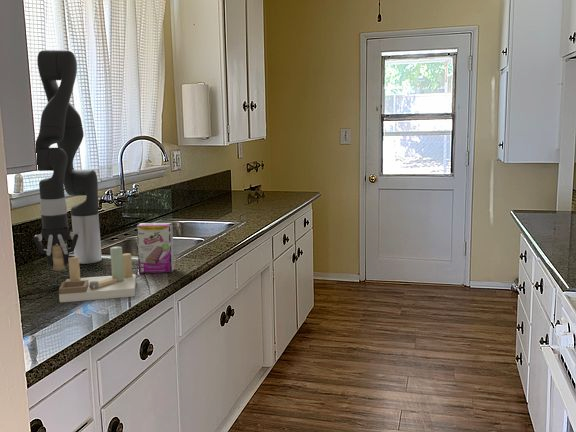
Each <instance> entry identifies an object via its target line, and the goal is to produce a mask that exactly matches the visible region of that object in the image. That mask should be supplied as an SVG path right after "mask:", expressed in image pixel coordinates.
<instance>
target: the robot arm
mask: <svg viewBox="0 0 576 432" xmlns="http://www.w3.org/2000/svg"><path fill="white" fill-rule="evenodd" d="M36 59H37V60H36V63H37V64H36V65H37V70H38V74H39V77H40V80H41V84H42V87H43V89H44V93H45V96H46V99H47V103H46V105H45V106H44V108H43V110H42V113H41V115H40V123H39V131H38V135H37V137H36V141H35V142H36V153H37V165H38V170H36V171H38V172H46V171H47V172H53V173H52V176H51V177H47V178H43V179H41V180H40V181H39V184H38V188H39V198H40V200H39V201H40V203H39V207H40V208H39V209H40V215H41V226H42V227H41V228H42V230H41V232H40V233H39V234H35V235H34V236H33V237H32V241H34V243H35V245H36V247H37V249H38V251H39V253H40V254H41V255H46V256H47V264H48V266H50V267H52V268H53V260H52V250H51V249H52V245H55V244H61V247H62V249H63V252H64V265H65V267H66V266H69V261H68V258H70V253H73V252H74V253H73V254H74V257H79V265H80V264H81V265H83V264H84V265H85V264H95V263H99V262H101V261H102V259H103V257H102V245H101V244H102V243H101V231H100V218H99V217H100V216H99V195H98V194H99V193H98V189H99V188H98V185H99V184H98V183H99V182H98V177H97V172H96V171H95V170H94V169H75V168H74V160H75V156H76V154H77V151H78V149H79V148H80V146H81V144H82V141H83V140H84V139H83V138H84V136H85V135H84V128H83V123H82V122H83V121H82V118H81V116H80V114H79V112H78V111H77V109H76V108H75V107H74V106H73V104H71V102H70V101H71V97H72V93H73V90H74V85H75V82H76V78H77V75H78V74H77V73H78V62H77V58H76V56H75V53H73V51H71V50H61V49H60V50H57V49H56V50H53V49H51V50H49V49H48V50H46V49H45V50H40V51H39V52H38V53H37V58H36ZM57 81H60V84H58V82H57ZM54 144H57V145H56V146H57V147H51V146H52V145H54ZM65 192H66V195H68V196H71V197H73V196H75V197H76V196H79V197H81V196H86V197H85V198H86V199H85V200H84V201H82V202H81V203H79V204H76V205H73V206H72V207H70V208H71V209H70V215H71V216H70V217H71V225H72V226H71V227H72V231H71V230H70V227H69V221H68V220H69V219H68V210H67V201H66V195H65ZM69 237H70V239H71V240H72V241H71V244H70V247H69V246H68V243H67V239H68V238H69ZM43 239H44V240H45V242H47V245H46V246H47V247H46V248H47V249H46V248H45V246H44V244H43V242H42V241H43Z"/></svg>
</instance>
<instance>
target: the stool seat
mask: <svg viewBox="0 0 576 432" xmlns="http://www.w3.org/2000/svg"><path fill="white" fill-rule="evenodd" d="M122 256H123V272H124V280H123V281H118V282H114V283H111V284H108V285H105V286H102V287H99V288H96V289H91V288H89V285H90V282H92V281H98V282H99V281H102V280H106V279H109V278H112V275H106V276H105V275H104V276H92V277H81V269H80V263H79V257H75V256H69V258H68V261H69V264H68V271H69V278H66V280H65V281H62V282H61V284H60V286H59V288H58V297H59V303H70V302H81V301H82V302H83V301H84V302H85V301H92V300H93V301H95V300H104V299H105V300H106V299H117V298H118V299H119V298H127V297H128V298H129V297H136V285H137V277H136V273H133V259H132V257H133V256H132V254H131V253H122Z"/></svg>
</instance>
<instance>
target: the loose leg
mask: <svg viewBox="0 0 576 432" xmlns="http://www.w3.org/2000/svg"><path fill="white" fill-rule="evenodd" d="M51 250H52V260H53V267H52V268H53V271H55V272H59V271H65V270H66V266H65V265H64V252H63V249H62V247H61V244H55V245H52V249H51Z"/></svg>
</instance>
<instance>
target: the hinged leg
mask: <svg viewBox="0 0 576 432" xmlns="http://www.w3.org/2000/svg"><path fill="white" fill-rule="evenodd" d="M109 249H110V251H109V252H110V264H111V276H112V278H109V279H106V280H102V281H99V282H98V281H92V282H90V285H89V288H91V289H96V288H99V287H102V286H105V285H108V284H111V283H114V282H118V281H123V280H124V272H123V256H122V254H123V247H122V246H112V247H111V246H110V248H109Z"/></svg>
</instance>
